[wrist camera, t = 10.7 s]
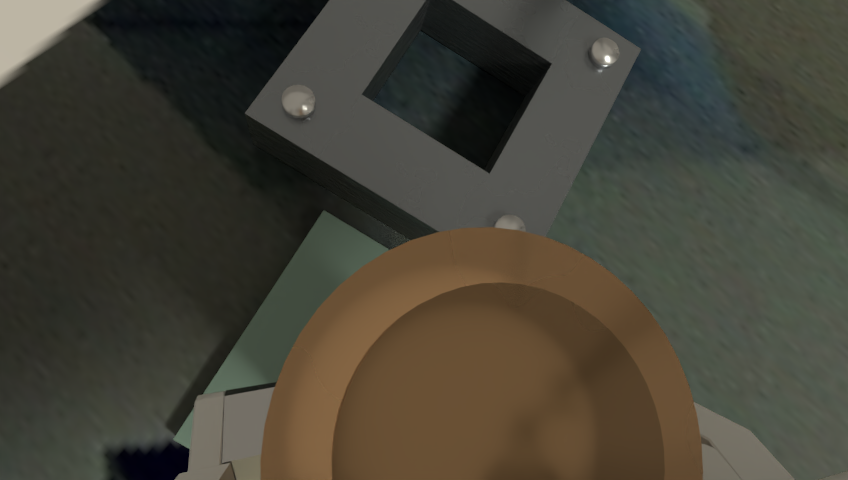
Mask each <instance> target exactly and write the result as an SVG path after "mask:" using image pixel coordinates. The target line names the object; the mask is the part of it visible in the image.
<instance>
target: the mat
mask: <svg viewBox="0 0 848 480" xmlns="http://www.w3.org/2000/svg"><path fill="white" fill-rule="evenodd" d="M386 251H389V249H388V248H386V247H384V246H383V245H381V244H379V243H378V242H376V241H374V240H373V239H371V238H369V237H368V236H366V235H364V234H363V233H361V232H359V231H358V230H356V229H354V228H353V227H351V226H349V225H348V224H346V223H344V222H343V221H341V220H339V219H338V218H336V217H334V216H333V215H331V214H329V213H328V212H326V211H324V210H323V212H322V213H321V215H320V216H319V218H318V219H317V221H316V223H315V224H314V226H313V227H312V229H311V230H310V232H309V233H308V235H307V236H306V238H305V239H304V241H303V242H302V244H301V245H300V247H299V248H298V250H297V251H296V253H295V255H294V256H293V258H292V259H291V261H290V262H289V264H288V265H287V267H286V268H285V270H284V271H283V273H282V274H281V276H280V277H279V279H278V280H277V282H276V283H275V285H274V287H273V288H272V290H271V291H270V293H269V294H268V296H267V297H266V299H265V300H264V302H263V303H262V305H261V306H260V308H259V309H258V311H257V312H256V314H255V315H254V317H253V319H252V320H251V322H250V323H249V325H248V326H247V328H246V329H245V331H244V332H243V334H242V335H241V337H240V338H239V340H238V341H237V343H236V344H235V346H234V347H233V349H232V351H231V352H230V354H229V355H228V357H227V358H226V360H225V361H224V363H223V364H222V366H221V367H220V369H219V370H218V372H217V373H216V375H215V376H214V378H213V379H212V381H211V383H210V384H209V386H208V387H207V389H206V390H205V392H204V393H203V394H209V393H215V392H221V391H226V390H231V389H237V388H243V387H249V386H255V385H261V384H267V383H273V382H277V380H278V378H279V375H280V372H281V370H282V367H283V365H284V362H285V360H286V358H287V356H288V355H289V353H290V351H291V349H292V347H293V345H294V344H295V342H296V340H297V338H298V336H299V334H300V333H301V331H302V330H303V328H304V327H305V326H306V324H307V323H308V322H309V320H310V319H311V317H312V316H313V315H314V313H315V312H316V310H317V309H318V308H319V307H320V306H321V304H322V303H323V302H324V301H325V300H326V299H327V298H328V297H329V296H330V295H331V294H332V293H333V292H334V291H335V289H336V288H337V287H338V286H339V285H340V284H342V283H343V282H344V281H345V280H347V279H348V278H349V277H350V276H351V275H353V274H354V273H355V272H356V271H357V270H359V269H360V268H361V267H362V266H364V265H366V264H367V263H369V262H370V261H372V260H374V259H375V258H377V257H378V256H380V255H382V254H383V253H385V252H386ZM193 413H194V408H193V410H192V411H191V413H190V415H189V416H188V418H187V419H186V421H185V422H184V424H183V425H182V427H181V428H180V430H179V431H178V433H177V434H176V436H175V437H174V439H173V440H175V441H176V442H178V443H180V444H182V445H183V446H185V447H187V448H189V449H190V444H191V433H192V423H193Z"/></svg>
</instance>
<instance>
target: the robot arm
mask: <svg viewBox="0 0 848 480" xmlns="http://www.w3.org/2000/svg"><path fill="white" fill-rule="evenodd" d="M276 383H277V382H273V383H267V384H261V385H255V386H249V387H243V388H237V389H231V390H226V391H221V392H215V393H209V394H203V395H197V398H196V400H195V403H194V413H193V423H192V433H191V444H190V454H189V464H188V472H184V473H180V474H179V475H178V476H177V477H176V479H175V480H261V468H260V459H261V451H262V442H263V434H264V425H265V421H266V417H267V413H268V409H269V405H270V401H271V397H272V393H273V390H274V388H275V385H276ZM694 405H695V409H696V412H697V418H698V424H699V430H700V436H701V443H702V462H703V480H795V479H794V478H793V477H792V476H791V475H790V474H789V473H788V472H787V471H786V470H785V468H784V467H783V466H782V465H781V464H780V463H779V462H778V461H777V460H776V459H775V457H774V456H773V455H772V454H771V453H770V452H769V451H768V450H767V449H766V448H765V446H764V445H763V444H762V443H761V442H760V441H759V440H758V439H757V438H756V437H755V435H754V434H753V433H752V432H751V431H750V430H748V429H746V428H744V427H742V426H740V425H738V424H736V423H734V422H732V421H730V420H728V419H726V418H724V417H722V416H720V415H718V414H716V413H714V412H712V411H710V410H709V409H707V408H705V407H703V406H701V405H699V404H697V403H695V402H694ZM818 480H848V471H845V472H842V473H838V474H835V475H831V476H828V477H824V478H821V479H818Z"/></svg>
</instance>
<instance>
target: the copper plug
mask: <svg viewBox="0 0 848 480" xmlns="http://www.w3.org/2000/svg"><path fill="white" fill-rule="evenodd" d="M260 468H261V480H703V462H702V443H701V436H700V430H699V424H698V418H697V412H696V409H695V405H694V402H693V398H692V394H691V391H690V387H689V384H688V382H687V379H686V377H685V374H684V372H683V369H682V367H681V364H680V362H679V359H678V357H677V355H676V354H675V352H674V350H673V348H672V346H671V344H670V342H669V340H668V339H667V337H666V335H665V333H664V332H663V330H662V329H661V327H660V326H659V325H658V323H657V322H656V320H655V319H654V317H653V316H652V314H651V313H650V312H649V310H648V309H647V308H646V307H645V306H644V305H643V303H642V302H641V301H640V300H639V299H638V298H637V297H636V295H635V294H634V293H633V292H632V291H631V290H630V289H629V288H628V287H627V286H625V285H624V284H623V283H622V282H621V281H620V280H619V279H618V278H617V277H616V276H614V275H613V274H612V273H611V272H609V271H608V270H607V269H605V268H604V267H602V266H601V265H600V264H598V263H597V262H595V261H594V260H593V259H591V258H589V257H588V256H586V255H584V254H582V253H580V252H578V251H576V250H575V249H573V248H571V247H569V246H567V245H564V244H562V243H559V242H557V241H554V240H552V239H549V238H546V237H544V236H540V235H536V234H532V233H528V232H524V231H520V230H513V229H504V228H495V227H477V228H460V229H454V230H448V231H442V232H437V233H433V234H430V235H427V236H423V237H420V238H417V239H413V240H411V241H409V242H406V243H404V244H402V245H400V246H397V247H395V248H393V249H391V250H389V251H386V252H385V253H383V254H382V255H380V256H378V257H377V258H375V259H374V260H372V261H370V262H369V263H367V264H366V265H364V266H362V267H361V268H360V269H359V270H357V271H356V272H355V273H354V274H353V275H351V276H350V277H349V278H348V279H347V280H345V281H344V282H343V283H342V284H340V285H339V286H338V287H337V288H336V289H335V291H334V292H333V293H332V294H331V295H330V296H329V297H328V298H327V299H326V300H325V301H324V302H323V303H322V304H321V306H320V307H319V308H318V309H317V310H316V312H315V313H314V315H313V316H312V317H311V319H310V320H309V322H308V323H307V324H306V326H305V327H304V328H303V330H302V331H301V333H300V334H299V336H298V338H297V340H296V342H295V344H294V345H293V347H292V349H291V351H290V353H289V355H288V356H287V358H286V360H285V362H284V365H283V367H282V370H281V372H280V375H279V378H278V380H277V383H276V385H275V388H274V390H273V393H272V397H271V401H270V405H269V409H268V413H267V417H266V421H265V425H264V434H263V442H262V451H261V459H260Z"/></svg>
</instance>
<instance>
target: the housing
mask: <svg viewBox="0 0 848 480" xmlns="http://www.w3.org/2000/svg"><path fill="white" fill-rule="evenodd" d="M420 30H421V31H423V32H424V33H426V34H427V35H429V36H431V37H432V38H434V39H435V40H437V41H438V42H440V43H442V44H443V45H445V46H446V47H448V48H450V49H451V50H453V51H454V52H456V53H457V54H459V55H461V56H462V57H464V58H465V59H467V60H469V61H470V62H472V63H473V64H475V65H476V66H478V67H480V68H481V69H483V70H484V71H486V72H488V73H489V74H491V75H492V76H494V77H495V78H497V79H499V80H500V81H502V82H503V83H505V84H506V85H508V86H510V87H511V88H513V89H514V90H516V91H518V92H519V93H521V94H522V95H524V96H525V98H524V100H523V102H522V103H521V105H520V107H519V109H518V110H517V112H516V114H515V116H514V117H513V119H512V121H511V123H510V124H509V126H508V128H507V130H506V131H505V133H504V135H503V137H502V138H501V140H500V142H499V144H498V145H497V147H496V149H495V151H494V152H493V154H492V156H491V158H490V159H489V161H488V163H487V165H486V166H485V168H484V170H483V169H481V168H480V167H478V166H476V165H475V164H473V163H472V162H470V161H468V160H467V159H465V158H464V157H462V156H460V155H459V154H457V153H455V152H454V151H452V150H451V149H449V148H447V147H446V146H444V145H443V144H441V143H439V142H438V141H436V140H434V139H433V138H431V137H430V136H428V135H426V134H425V133H423V132H422V131H420V130H418V129H417V128H415V127H413V126H412V125H410V124H409V123H407V122H405V121H404V120H402V119H401V118H399V117H397V116H396V115H394V114H392V113H391V112H389V111H388V110H386V109H384V108H383V107H381V106H380V105H378V104H376V103H375V102H373V100H374V99H375V97H376V96H377V94H378V93H379V91H380V90H381V88H382V87H383V85H384V84H385V82H386V81H387V79H388V78H389V76H390V75H391V73H392V72H393V70H394V69H395V67H396V66H397V64H398V63H399V61H400V60H401V58H402V57H403V55H404V54H405V52H406V51H407V49H408V48H409V46H410V45H411V43H412V42H413V40H414V39H415V37H416V36H417V34H418V33H419V31H420ZM640 50H641V49H640V48H638V47H637V46H635V45H634V44H632V43H631V42H629V41H628V40H626V39H625V38H623V37H621V36H620V35H618V34H617V33H615V32H614V31H612V30H611V29H609V28H608V27H606V26H605V25H603V24H601V23H600V22H598V21H597V20H595V19H594V18H592V17H591V16H589V15H588V14H586V13H584V12H583V11H581V10H580V9H578V8H577V7H575V6H574V5H572V4H571V3H569V2H567V1H566V0H329V2H328V3H327V4H326V6H325V7H324V8H323V10H322V11H321V12H320V14H319V15H318V16H317V18H316V19H315V20H314V22H313V23H312V24H311V26H310V27H309V28H308V29H307V31H306V32H305V33H304V35H303V36H302V37H301V39H300V40H299V41H298V43H297V44H296V45H295V47H294V48H293V49H292V51H291V52H290V53H289V55H288V56H287V57H286V59H285V60H284V61H283V63H282V64H281V65H280V67H279V68H278V69H277V71H276V72H275V73H274V75H273V76H272V77H271V79H270V80H269V81H268V83H267V84H266V85H265V87H264V88H263V89H262V91H261V92H260V93H259V95H258V96H257V97H256V99H255V100H254V101H253V103H252V104H251V105H250V107H249V108H248V109H247V111H246V112H245V117H246V120H247V124H248V127H249V131H250V134H251V138H252V141H253V144H254V145H255V146H257V147H259V148H260V149H262V150H264V151H265V152H267V153H268V154H270V155H272V156H273V157H275V158H277V159H278V160H280V161H282V162H283V163H285V164H287V165H288V166H290V167H292V168H293V169H295V170H297V171H298V172H300V173H302V174H303V175H305V176H307V177H308V178H310V179H311V180H313V181H315V182H316V183H318V184H320V185H321V186H323V187H325V188H326V189H328V190H330V191H331V192H333V193H335V194H336V195H338V196H340V197H341V198H343V199H345V200H346V201H348V202H349V203H351V204H353V205H354V206H356V207H358V208H359V209H361V210H363V211H364V212H366V213H368V214H369V215H371V216H373V217H374V218H376V219H378V220H379V221H381V222H383V223H384V224H386V225H387V226H389V227H391V228H392V229H394V230H396V231H397V232H399V233H401V234H402V235H404V236H406V237H407V238H409V239H411V240H413V239H417V238H420V237H423V236H427V235H430V234H433V233H437V232H442V231H448V230H454V229H460V228H477V227H495V228H504V229H513V230H520V231H524V232H528V233H532V234H536V235H540V236H544V237H546V235H547V233H548V231H549V229H550V227H551V225H552V223H553V221H554V219H555V217H556V215H557V213H558V211H559V209H560V207H561V205H562V203H563V201H564V199H565V197H566V195H567V193H568V191H569V189H570V187H571V185H572V184H573V182H574V180H575V178H576V176H577V174H578V172H579V170H580V168H581V166H582V164H583V162H584V160H585V158H586V156H587V154H588V152H589V150H590V148H591V146H592V144H593V142H594V140H595V138H596V136H597V134H598V132H599V131H600V129H601V127H602V125H603V123H604V121H605V119H606V117H607V115H608V113H609V111H610V109H611V107H612V105H613V103H614V101H615V99H616V97H617V95H618V93H619V91H620V89H621V87H622V85H623V83H624V81H625V79H626V78H627V76H628V74H629V72H630V70H631V68H632V66H633V64H634V62H635V60H636V58H637V56H638V54H639V52H640Z"/></svg>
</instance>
